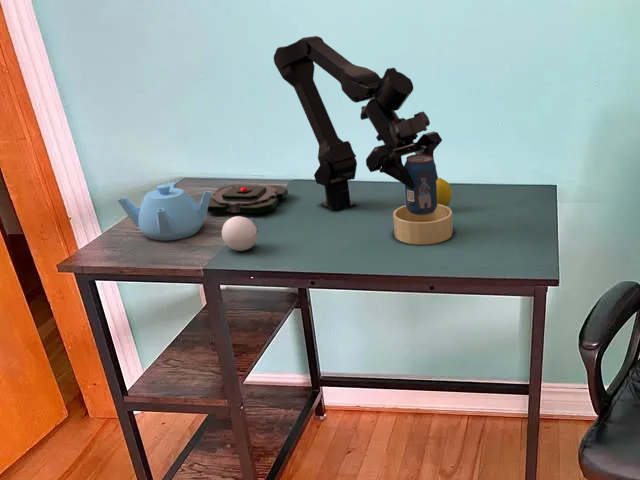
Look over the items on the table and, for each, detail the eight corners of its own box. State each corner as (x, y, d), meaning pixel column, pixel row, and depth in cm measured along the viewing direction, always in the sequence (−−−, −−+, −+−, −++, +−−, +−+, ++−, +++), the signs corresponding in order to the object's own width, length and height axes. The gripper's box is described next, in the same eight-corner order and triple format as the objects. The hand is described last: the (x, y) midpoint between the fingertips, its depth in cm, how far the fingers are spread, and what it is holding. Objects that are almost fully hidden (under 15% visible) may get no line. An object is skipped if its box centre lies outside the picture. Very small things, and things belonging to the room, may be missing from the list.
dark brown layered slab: (226, 193, 189) (223, 175, 187) (292, 194, 188) (290, 177, 185) (197, 216, 174) (193, 197, 172) (269, 218, 172) (266, 199, 170)
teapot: (223, 227, 167) (214, 182, 162) (168, 248, 156) (156, 200, 151) (180, 216, 174) (170, 172, 169) (125, 235, 163) (112, 189, 158)
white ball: (255, 256, 152) (249, 223, 149) (220, 256, 152) (213, 223, 149) (267, 238, 161) (262, 207, 157) (235, 238, 161) (228, 207, 157)
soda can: (421, 203, 165) (419, 151, 158) (443, 210, 161) (442, 157, 154) (399, 211, 160) (396, 158, 154) (422, 218, 156) (420, 164, 150)
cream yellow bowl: (383, 233, 163) (381, 212, 161) (428, 219, 171) (427, 199, 168) (418, 249, 155) (416, 227, 152) (464, 234, 162) (464, 213, 160)
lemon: (453, 206, 179) (452, 174, 175) (450, 214, 174) (449, 181, 170) (431, 205, 179) (430, 174, 175) (427, 213, 175) (426, 181, 170)
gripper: (370, 107, 144) (411, 172, 144) (434, 93, 156) (472, 153, 156) (348, 140, 153) (387, 201, 152) (411, 124, 165) (447, 181, 164)
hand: (424, 183), depth 156 cm, fingers closed on soda can, 7 cm apart
